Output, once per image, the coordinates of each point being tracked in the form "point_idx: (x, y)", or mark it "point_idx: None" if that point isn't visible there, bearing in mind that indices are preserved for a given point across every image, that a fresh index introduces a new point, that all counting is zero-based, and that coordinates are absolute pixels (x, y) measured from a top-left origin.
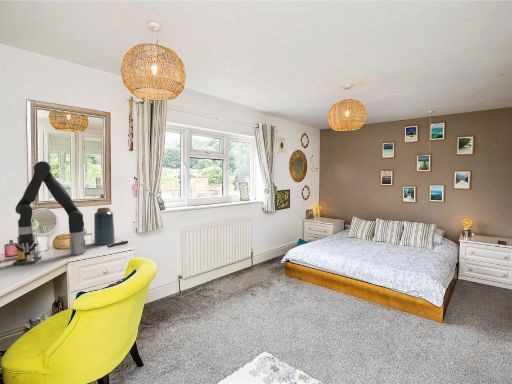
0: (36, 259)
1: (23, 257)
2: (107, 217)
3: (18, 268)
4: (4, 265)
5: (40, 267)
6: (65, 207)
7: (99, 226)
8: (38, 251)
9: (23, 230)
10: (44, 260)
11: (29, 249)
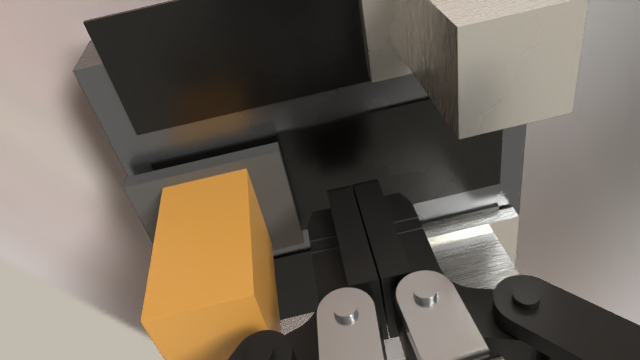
0: (521, 173)
1: (258, 212)
2: None
3: (389, 353)
4: (49, 283)
5: (631, 316)
6: None
7: None
8: (574, 56)
9: None
10: (599, 39)
11: (450, 337)
